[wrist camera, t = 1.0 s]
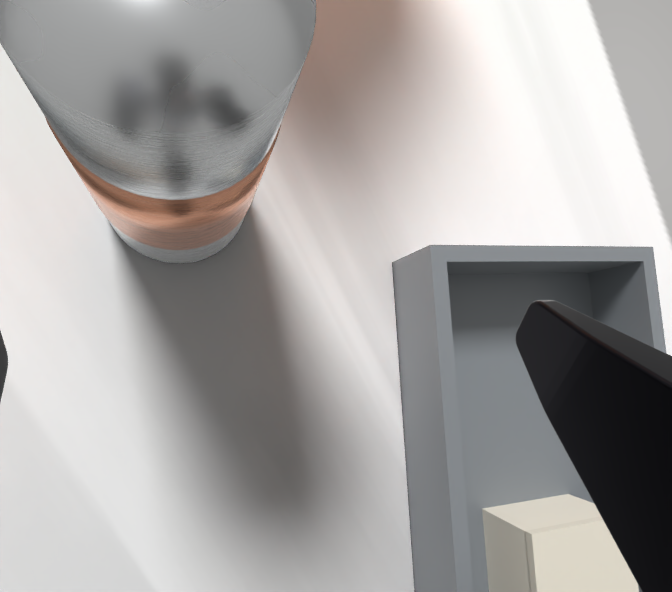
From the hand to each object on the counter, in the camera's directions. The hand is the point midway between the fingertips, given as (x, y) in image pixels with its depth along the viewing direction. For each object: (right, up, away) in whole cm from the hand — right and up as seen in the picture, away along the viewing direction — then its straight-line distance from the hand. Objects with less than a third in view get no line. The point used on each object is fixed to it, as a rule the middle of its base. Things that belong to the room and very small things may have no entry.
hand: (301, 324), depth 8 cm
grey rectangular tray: (+10, -8, +16) cm, 20 cm away
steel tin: (-6, +5, +13) cm, 15 cm away
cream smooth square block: (+10, -13, +15) cm, 22 cm away
